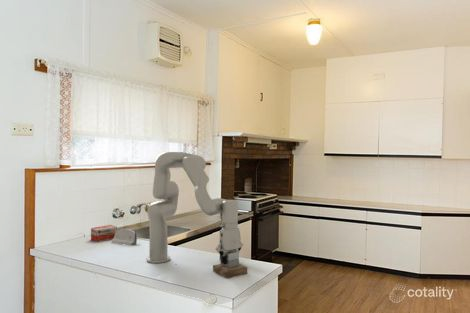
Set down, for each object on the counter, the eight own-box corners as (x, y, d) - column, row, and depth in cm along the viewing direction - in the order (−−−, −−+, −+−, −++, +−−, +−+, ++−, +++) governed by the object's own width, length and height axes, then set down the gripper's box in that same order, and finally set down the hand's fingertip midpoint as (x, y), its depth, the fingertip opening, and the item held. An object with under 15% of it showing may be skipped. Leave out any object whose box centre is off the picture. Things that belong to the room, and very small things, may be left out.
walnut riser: (212, 271, 173) (212, 264, 173) (232, 266, 180) (232, 260, 180) (226, 278, 163) (226, 271, 163) (247, 273, 170) (247, 266, 170)
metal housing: (228, 268, 167) (228, 253, 167) (220, 264, 173) (220, 250, 172) (238, 266, 170) (238, 251, 170) (230, 262, 176) (230, 248, 176)
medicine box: (96, 242, 231) (96, 229, 231) (90, 239, 236) (90, 228, 236) (117, 237, 242) (117, 226, 242) (111, 236, 247) (111, 224, 247)
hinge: (110, 242, 228) (114, 227, 231) (115, 243, 232) (119, 228, 235) (131, 245, 221) (135, 229, 224) (136, 246, 225) (139, 230, 228)
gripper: (219, 229, 163) (218, 267, 163) (248, 224, 173) (248, 261, 173) (210, 226, 169) (210, 263, 169) (239, 222, 179) (239, 257, 180)
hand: (229, 262), depth 171 cm, fingers open, 6 cm apart
